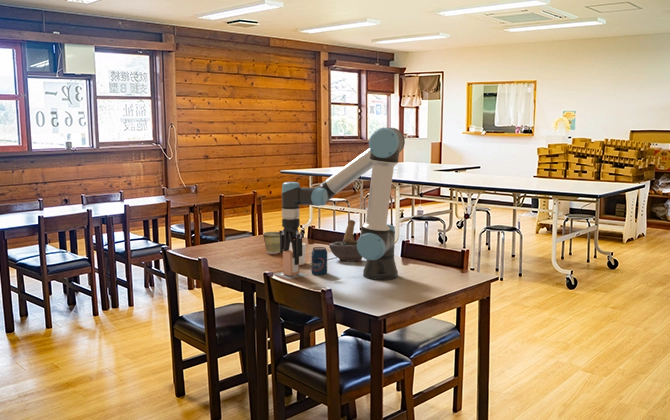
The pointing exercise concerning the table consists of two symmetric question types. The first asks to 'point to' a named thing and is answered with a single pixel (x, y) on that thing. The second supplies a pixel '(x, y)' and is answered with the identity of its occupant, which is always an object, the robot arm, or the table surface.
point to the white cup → (302, 258)
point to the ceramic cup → (272, 242)
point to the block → (288, 263)
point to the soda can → (319, 261)
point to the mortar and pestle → (346, 246)
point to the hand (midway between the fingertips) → (291, 270)
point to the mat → (290, 276)
